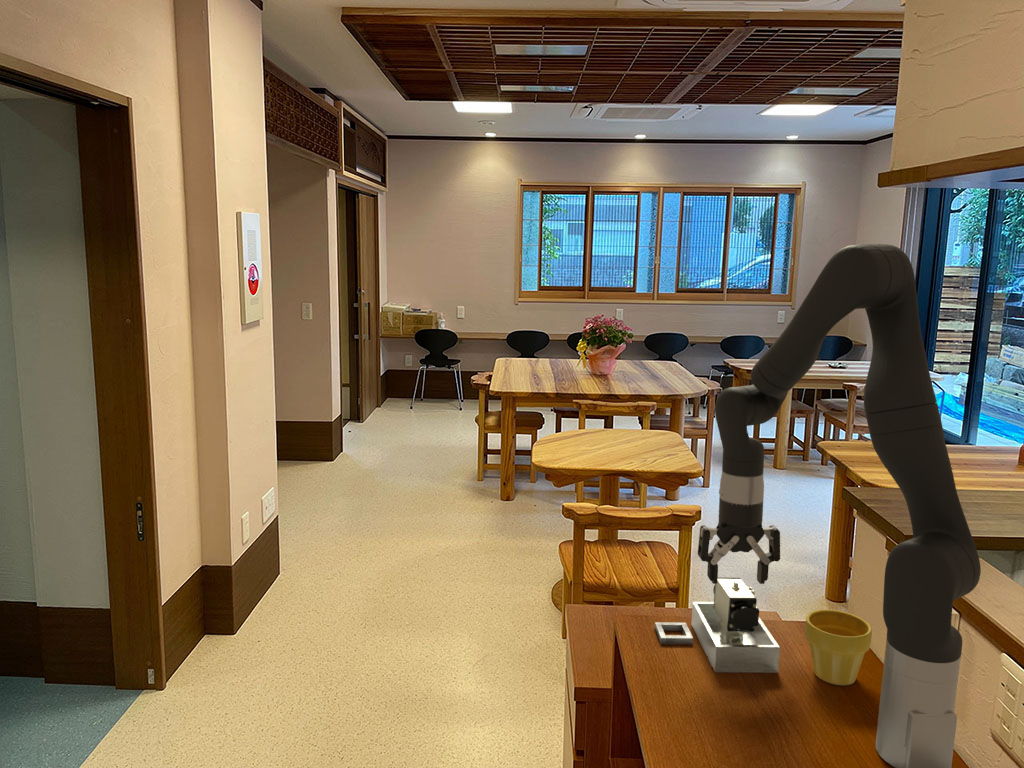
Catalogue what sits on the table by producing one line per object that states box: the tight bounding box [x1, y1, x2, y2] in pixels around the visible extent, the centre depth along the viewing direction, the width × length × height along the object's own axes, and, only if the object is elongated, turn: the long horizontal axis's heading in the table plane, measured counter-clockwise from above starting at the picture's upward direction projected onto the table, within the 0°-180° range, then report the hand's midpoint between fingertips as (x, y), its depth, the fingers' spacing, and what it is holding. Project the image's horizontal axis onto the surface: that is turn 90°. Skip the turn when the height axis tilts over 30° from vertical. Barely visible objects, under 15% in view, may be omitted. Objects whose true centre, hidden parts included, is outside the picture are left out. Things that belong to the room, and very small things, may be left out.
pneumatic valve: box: [712, 577, 760, 645], centre depth 135 cm, size 6×12×12 cm, turn 2°
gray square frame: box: [654, 621, 694, 645], centre depth 140 cm, size 6×6×1 cm
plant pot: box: [804, 609, 873, 686], centre depth 126 cm, size 10×10×10 cm
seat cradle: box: [690, 601, 781, 674], centre depth 135 cm, size 17×11×5 cm, turn 0°
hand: (737, 582), depth 133 cm, fingers open, 8 cm apart
